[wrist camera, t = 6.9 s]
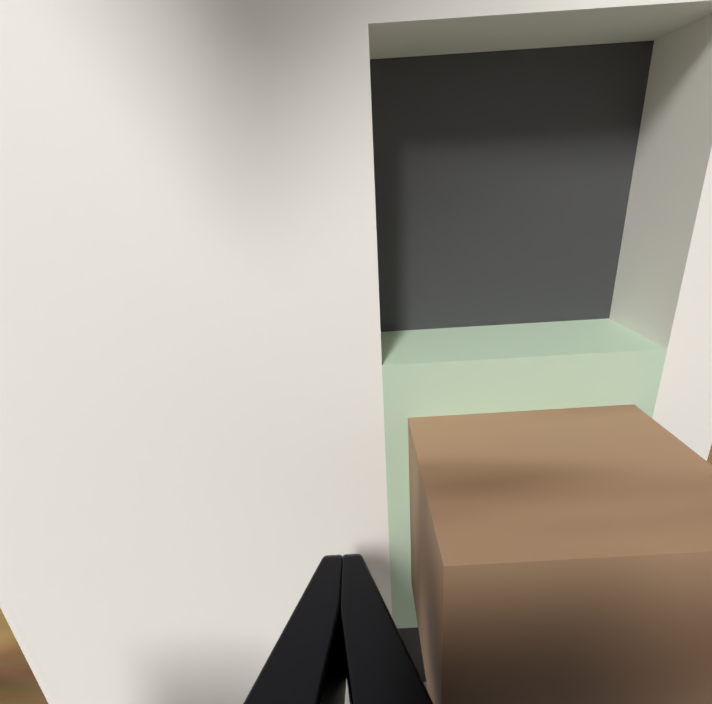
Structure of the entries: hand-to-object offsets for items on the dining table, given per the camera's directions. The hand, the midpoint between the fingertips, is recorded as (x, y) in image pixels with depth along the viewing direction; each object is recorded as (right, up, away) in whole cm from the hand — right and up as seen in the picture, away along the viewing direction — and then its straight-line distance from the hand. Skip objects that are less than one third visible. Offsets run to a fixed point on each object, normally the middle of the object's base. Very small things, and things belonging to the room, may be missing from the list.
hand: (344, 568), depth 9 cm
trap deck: (0, +1, +4) cm, 4 cm away
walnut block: (+4, +1, +1) cm, 4 cm away
